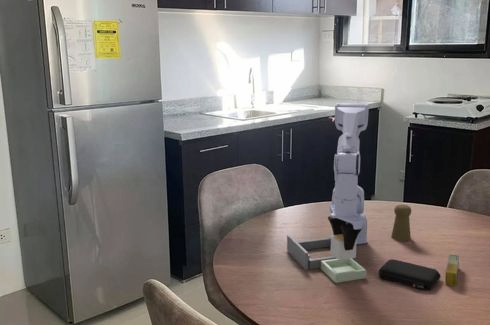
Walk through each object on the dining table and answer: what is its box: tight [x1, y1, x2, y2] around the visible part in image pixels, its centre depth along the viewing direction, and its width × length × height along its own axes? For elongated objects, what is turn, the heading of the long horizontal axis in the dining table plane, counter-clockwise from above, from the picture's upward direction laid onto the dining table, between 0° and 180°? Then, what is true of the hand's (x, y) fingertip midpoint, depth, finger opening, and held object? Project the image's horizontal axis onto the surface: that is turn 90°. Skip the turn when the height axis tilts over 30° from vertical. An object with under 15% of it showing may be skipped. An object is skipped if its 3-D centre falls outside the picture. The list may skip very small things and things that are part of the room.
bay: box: [320, 258, 367, 284], centre depth 133 cm, size 9×9×2 cm
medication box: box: [444, 254, 460, 287], centre depth 130 cm, size 12×3×4 cm, turn 154°
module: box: [329, 234, 357, 260], centre depth 131 cm, size 5×5×5 cm
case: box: [286, 234, 356, 271], centre depth 143 cm, size 15×14×5 cm
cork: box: [390, 203, 412, 242], centre depth 156 cm, size 6×6×11 cm
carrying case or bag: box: [377, 258, 442, 291], centre depth 129 cm, size 11×3×15 cm
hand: (343, 245), depth 131 cm, fingers closed on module, 5 cm apart
